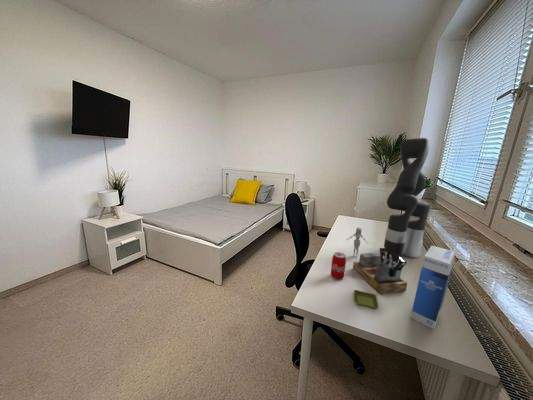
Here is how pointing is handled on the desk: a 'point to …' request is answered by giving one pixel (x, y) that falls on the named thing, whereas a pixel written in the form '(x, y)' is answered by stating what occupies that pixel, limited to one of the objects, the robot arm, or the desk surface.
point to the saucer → (365, 299)
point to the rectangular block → (385, 274)
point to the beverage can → (338, 266)
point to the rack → (367, 272)
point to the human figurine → (357, 240)
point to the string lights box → (432, 285)
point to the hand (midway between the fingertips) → (388, 274)
